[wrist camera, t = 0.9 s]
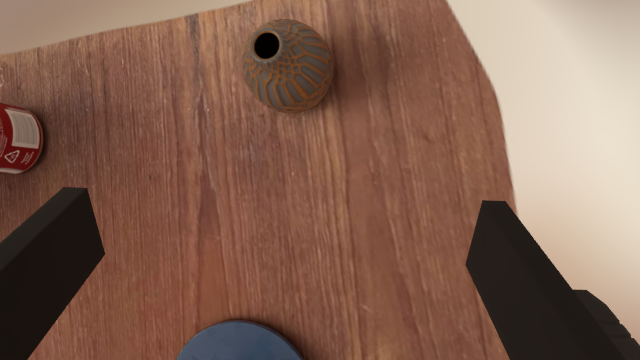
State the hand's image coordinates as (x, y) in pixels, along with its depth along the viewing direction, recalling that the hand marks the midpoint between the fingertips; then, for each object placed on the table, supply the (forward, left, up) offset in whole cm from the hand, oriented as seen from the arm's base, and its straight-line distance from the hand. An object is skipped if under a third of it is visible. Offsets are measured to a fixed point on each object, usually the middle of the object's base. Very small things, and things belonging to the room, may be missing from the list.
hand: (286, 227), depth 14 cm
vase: (+3, -12, -21) cm, 24 cm away
